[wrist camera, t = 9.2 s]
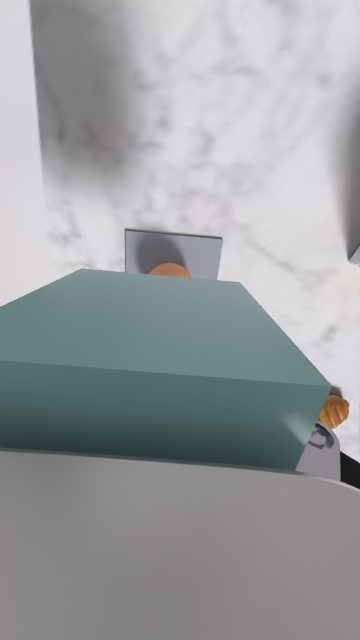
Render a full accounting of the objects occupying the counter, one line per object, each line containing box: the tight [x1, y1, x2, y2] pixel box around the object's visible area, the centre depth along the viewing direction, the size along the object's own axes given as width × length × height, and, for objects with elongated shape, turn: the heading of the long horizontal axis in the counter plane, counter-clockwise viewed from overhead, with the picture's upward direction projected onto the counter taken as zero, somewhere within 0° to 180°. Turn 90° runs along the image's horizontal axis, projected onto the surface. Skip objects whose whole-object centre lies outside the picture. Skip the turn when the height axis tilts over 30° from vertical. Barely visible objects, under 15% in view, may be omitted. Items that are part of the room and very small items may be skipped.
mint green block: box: [0, 269, 332, 471], centre depth 9 cm, size 8×8×8 cm
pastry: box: [318, 394, 349, 429], centre depth 31 cm, size 9×7×4 cm
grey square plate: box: [126, 231, 223, 280], centre depth 25 cm, size 10×10×1 cm
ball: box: [149, 263, 192, 278], centre depth 23 cm, size 5×5×5 cm
